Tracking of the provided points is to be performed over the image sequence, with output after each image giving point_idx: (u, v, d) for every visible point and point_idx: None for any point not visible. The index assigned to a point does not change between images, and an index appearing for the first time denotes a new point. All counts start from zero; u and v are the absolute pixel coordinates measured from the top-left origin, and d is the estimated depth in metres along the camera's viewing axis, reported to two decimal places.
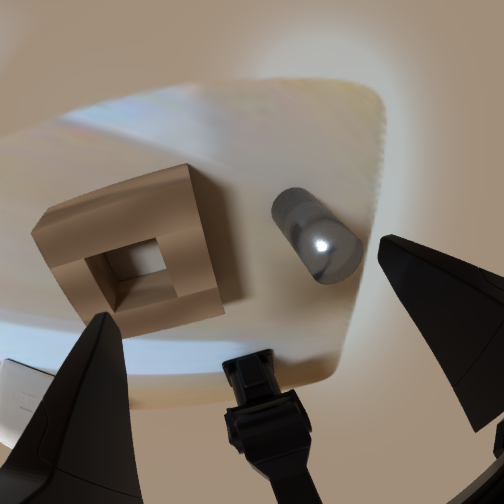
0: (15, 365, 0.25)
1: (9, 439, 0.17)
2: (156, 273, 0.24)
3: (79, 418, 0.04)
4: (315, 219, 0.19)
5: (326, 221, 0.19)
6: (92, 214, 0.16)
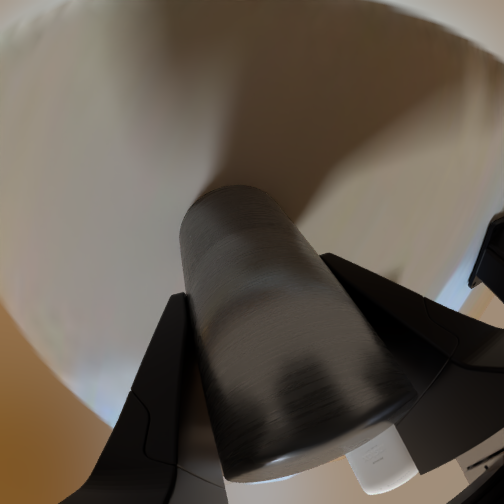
0: None
1: (382, 490, 0.25)
2: None
3: None
4: None
5: None
6: None
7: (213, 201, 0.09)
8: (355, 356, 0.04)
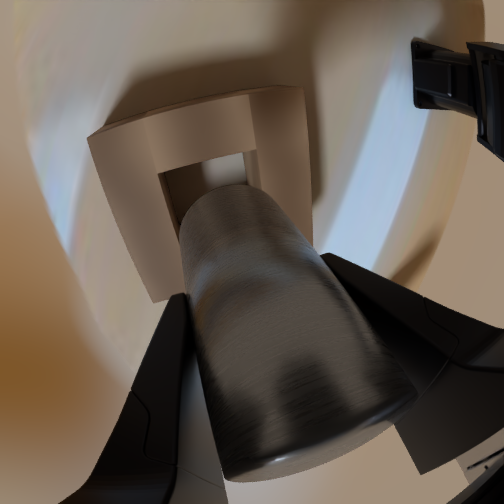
0: None
1: None
2: (244, 160, 0.19)
3: None
4: None
5: (205, 398, 0.06)
6: (129, 241, 0.16)
7: (213, 200, 0.09)
8: (355, 355, 0.04)
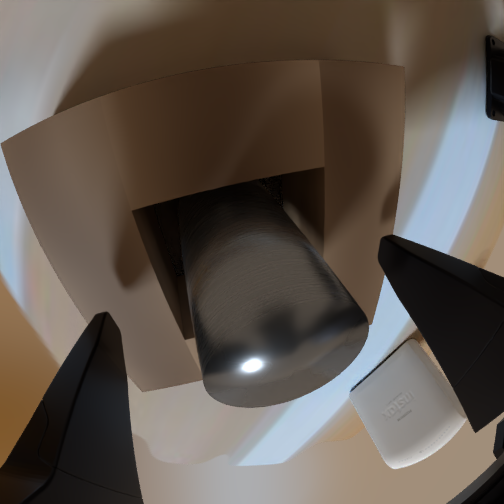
0: (361, 387, 0.27)
1: (412, 459, 0.19)
2: (282, 178, 0.12)
3: (79, 418, 0.04)
4: None
5: (193, 327, 0.07)
6: None
7: None
8: (304, 272, 0.06)
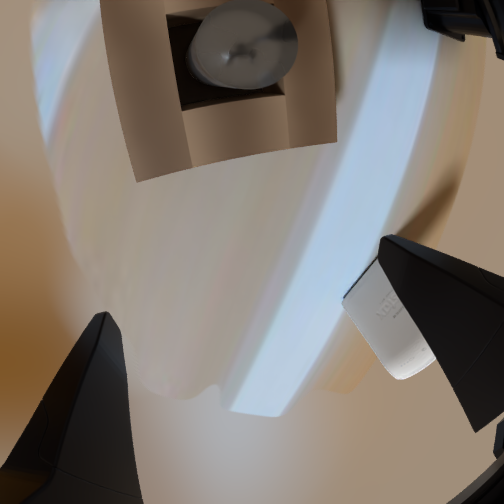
0: (353, 291, 0.30)
1: (415, 360, 0.21)
2: None
3: (79, 418, 0.04)
4: (194, 64, 0.11)
5: (193, 52, 0.10)
6: (119, 89, 0.11)
7: None
8: None
